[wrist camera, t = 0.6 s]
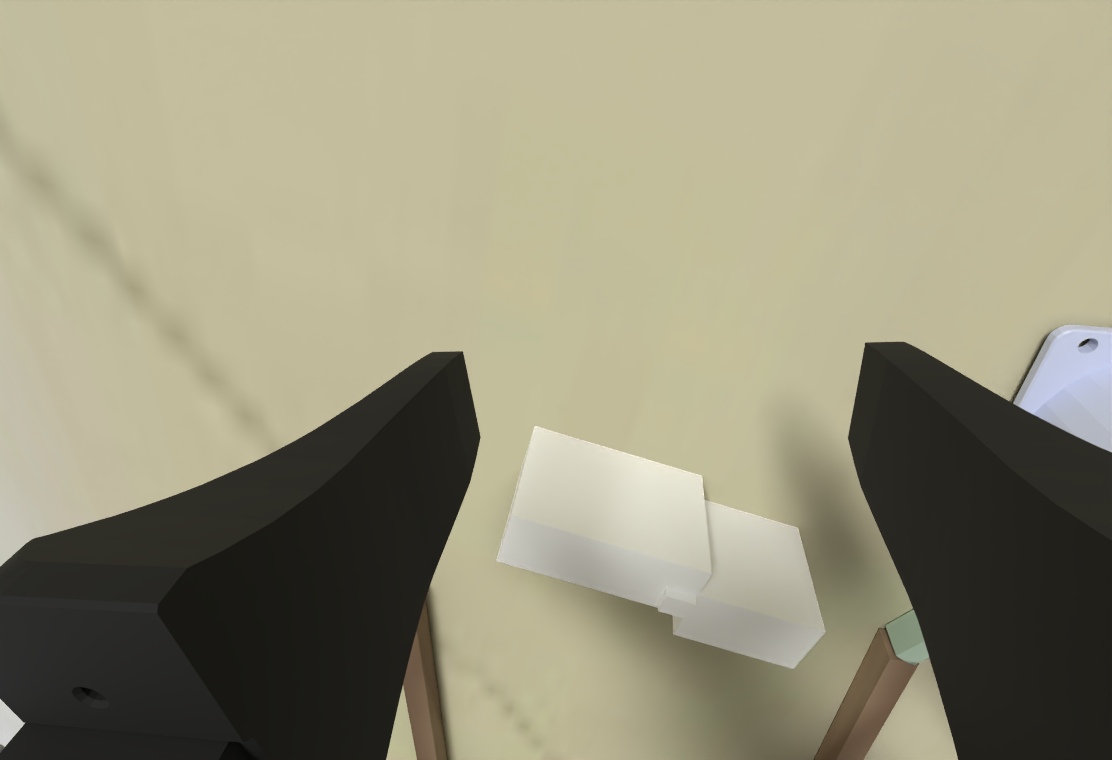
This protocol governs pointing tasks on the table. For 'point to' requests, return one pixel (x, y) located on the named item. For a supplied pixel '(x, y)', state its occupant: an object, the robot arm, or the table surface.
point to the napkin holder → (662, 547)
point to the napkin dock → (839, 751)
